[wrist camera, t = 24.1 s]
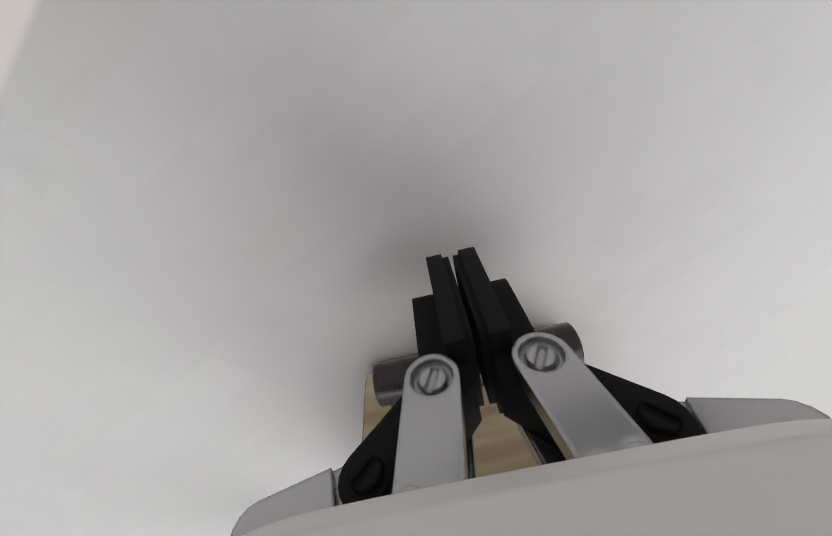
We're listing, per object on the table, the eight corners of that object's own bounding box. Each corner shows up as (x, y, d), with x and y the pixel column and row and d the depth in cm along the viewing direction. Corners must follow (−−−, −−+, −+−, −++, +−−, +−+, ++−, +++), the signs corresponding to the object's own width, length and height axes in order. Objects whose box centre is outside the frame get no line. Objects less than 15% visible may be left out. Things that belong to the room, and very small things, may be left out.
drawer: (330, 297, 15) (290, 476, 9) (570, 243, 15) (717, 391, 8) (416, 479, 26) (426, 620, 19) (557, 451, 25) (617, 588, 19)
